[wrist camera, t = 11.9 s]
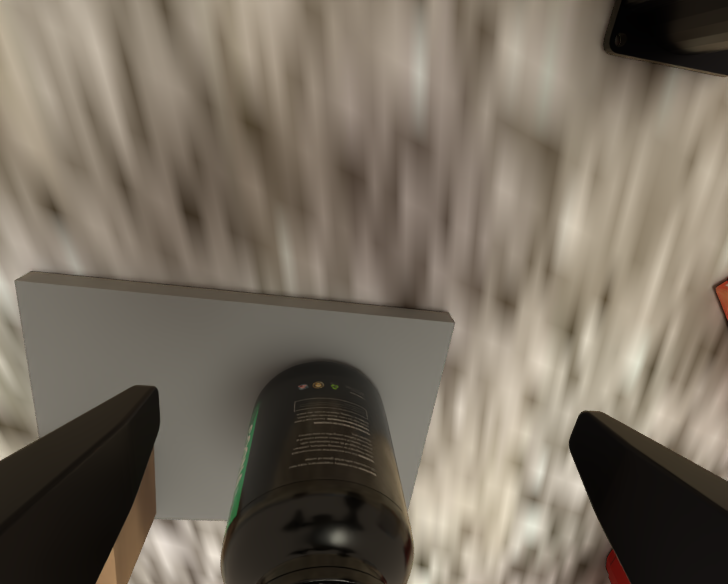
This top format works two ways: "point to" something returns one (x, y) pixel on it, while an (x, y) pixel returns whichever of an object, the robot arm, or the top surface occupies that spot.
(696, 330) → the top surface
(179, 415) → the gray board
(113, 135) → the top surface
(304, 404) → the supplement bottle
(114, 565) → the walnut block
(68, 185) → the top surface
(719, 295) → the cracker box
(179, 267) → the top surface
